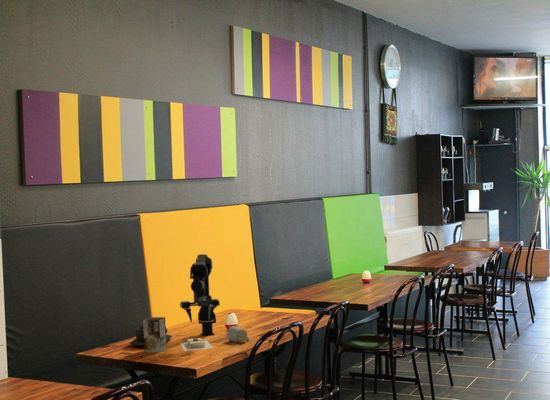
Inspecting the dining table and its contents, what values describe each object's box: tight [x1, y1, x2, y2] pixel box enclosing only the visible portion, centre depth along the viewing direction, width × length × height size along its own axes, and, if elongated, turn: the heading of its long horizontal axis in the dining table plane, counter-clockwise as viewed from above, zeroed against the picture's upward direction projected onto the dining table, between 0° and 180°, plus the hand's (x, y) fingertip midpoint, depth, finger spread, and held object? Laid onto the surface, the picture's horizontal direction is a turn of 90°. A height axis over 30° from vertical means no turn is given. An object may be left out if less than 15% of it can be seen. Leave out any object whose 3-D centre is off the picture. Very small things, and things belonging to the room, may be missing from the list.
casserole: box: [129, 325, 173, 347], centre depth 375 cm, size 25×19×8 cm
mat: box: [179, 340, 214, 352], centre depth 365 cm, size 18×14×1 cm
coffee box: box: [142, 316, 168, 353], centre depth 357 cm, size 9×6×16 cm
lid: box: [186, 337, 205, 348], centre depth 365 cm, size 11×7×3 cm, turn 15°
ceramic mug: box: [226, 325, 251, 344], centre depth 372 cm, size 11×8×8 cm
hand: (200, 321), depth 364 cm, fingers open, 9 cm apart
